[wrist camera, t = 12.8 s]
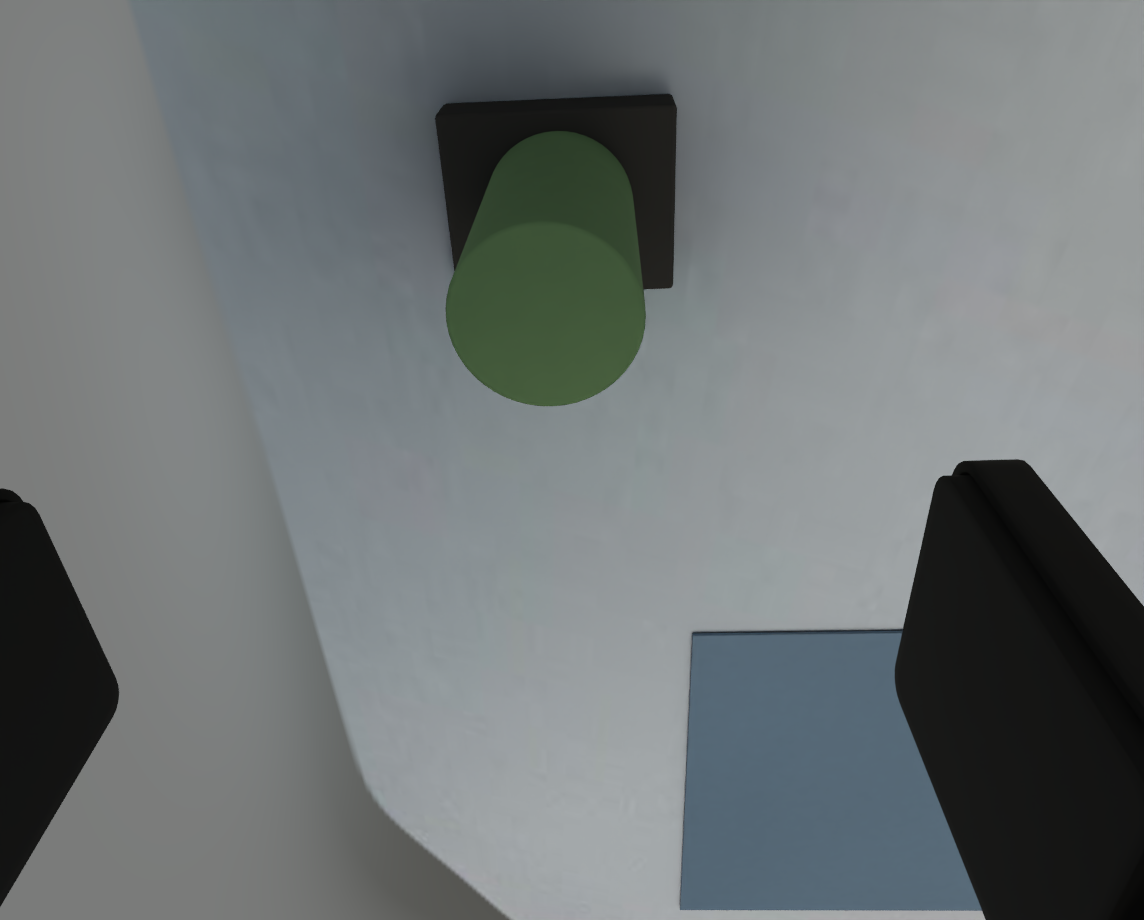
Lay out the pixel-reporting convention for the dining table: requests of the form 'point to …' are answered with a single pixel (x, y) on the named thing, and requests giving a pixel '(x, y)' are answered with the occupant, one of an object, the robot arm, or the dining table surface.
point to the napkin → (809, 781)
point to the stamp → (556, 237)
